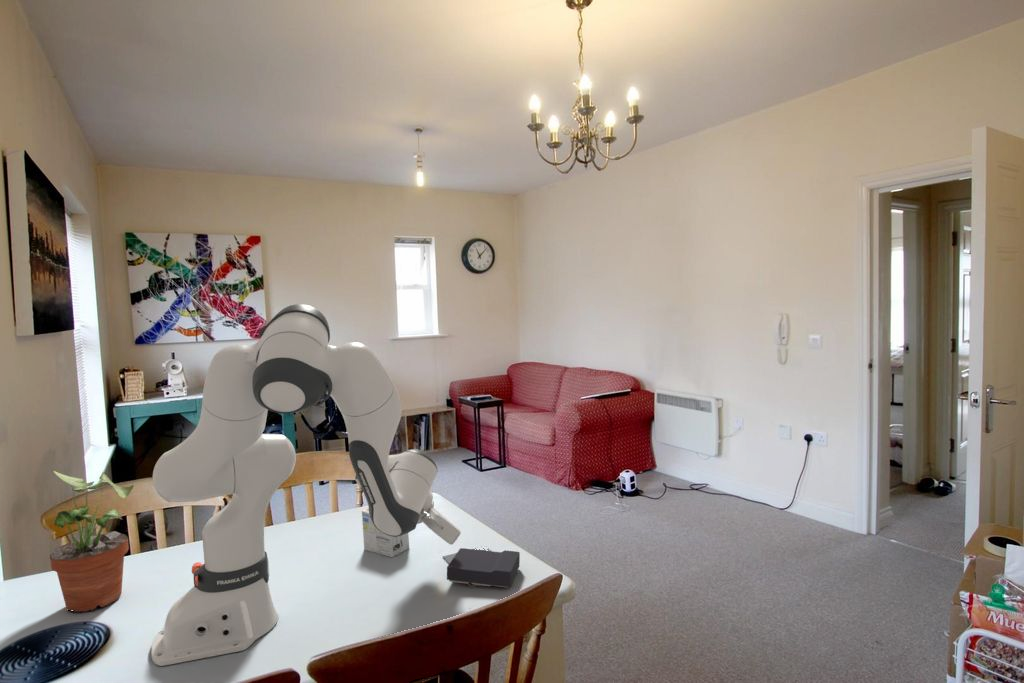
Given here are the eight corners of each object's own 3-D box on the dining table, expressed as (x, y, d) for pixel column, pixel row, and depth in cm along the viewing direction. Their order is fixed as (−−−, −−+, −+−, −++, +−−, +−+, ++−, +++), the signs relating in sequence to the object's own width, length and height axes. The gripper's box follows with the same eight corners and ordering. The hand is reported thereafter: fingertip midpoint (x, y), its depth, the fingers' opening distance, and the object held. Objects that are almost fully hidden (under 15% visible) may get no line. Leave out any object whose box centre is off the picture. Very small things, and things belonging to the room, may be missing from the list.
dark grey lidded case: (446, 583, 130) (510, 590, 127) (446, 564, 129) (510, 572, 126) (460, 562, 140) (519, 569, 137) (460, 545, 140) (520, 551, 137)
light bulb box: (410, 548, 151) (408, 508, 151) (392, 558, 146) (390, 517, 145) (381, 540, 157) (379, 502, 156) (362, 550, 151) (360, 510, 151)
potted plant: (85, 625, 119) (70, 461, 117) (38, 614, 124) (23, 457, 122) (155, 589, 134) (143, 443, 131) (110, 581, 139) (98, 440, 137)
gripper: (438, 506, 123) (481, 539, 128) (409, 481, 141) (448, 511, 147) (420, 530, 122) (464, 563, 127) (393, 502, 140) (432, 532, 145)
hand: (455, 535), depth 137 cm, fingers closed
